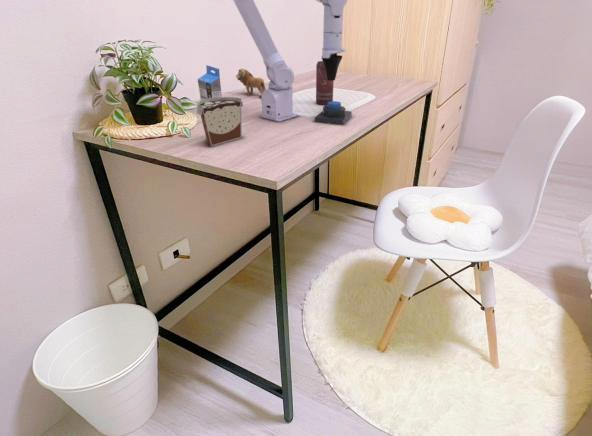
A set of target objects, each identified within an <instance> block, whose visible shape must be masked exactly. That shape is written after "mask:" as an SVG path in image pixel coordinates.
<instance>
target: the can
mask: <svg viewBox="0 0 592 436" xmlns="http://www.w3.org/2000/svg"><path fill="white" fill-rule="evenodd" d="M315 67H316V69H315V70H316V71H315V102H316V104H317V105H318V106H327V105H328V102H330V101H334V82H335V80H334V81H330V80H328V79H327V74H326V69H325V65H324V63H323V60H320V61H317V63H316V66H315Z"/></svg>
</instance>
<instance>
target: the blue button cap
mask: <svg viewBox="0 0 592 436" xmlns="http://www.w3.org/2000/svg"><path fill="white" fill-rule="evenodd" d="M341 106H342V103H341V102H340V101H334V100H333V101H330V102H328V109H331V110H339V109H341Z"/></svg>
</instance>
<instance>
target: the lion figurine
mask: <svg viewBox="0 0 592 436" xmlns="http://www.w3.org/2000/svg"><path fill="white" fill-rule="evenodd" d="M235 78H236V79H237V81H239V82H240V83H241V84H242V85H243V86H244V87H245V89H246V92H245V95H246V96H249V95H250V94H254V89H257V91H258V92H259V93H260V95H262V93H263V92H264V91H265V90H267V89H266V85H265V81H264V79H263V78H262V77H254V75H253V74H252V73H251V72H249V70H247V69H246V68H245V69H244V68H239V69H238V72H237V74H236V75H235Z"/></svg>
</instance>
